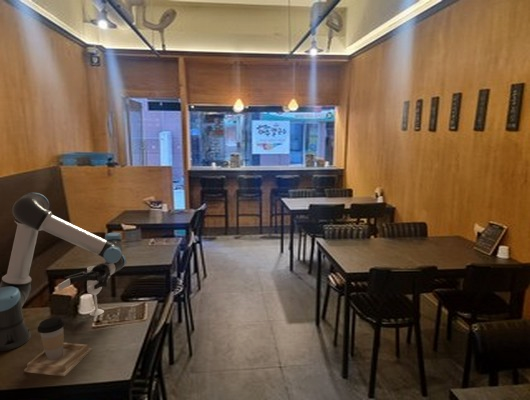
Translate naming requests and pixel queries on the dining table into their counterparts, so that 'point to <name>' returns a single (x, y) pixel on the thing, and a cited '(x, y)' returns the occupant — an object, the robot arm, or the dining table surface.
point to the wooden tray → (59, 360)
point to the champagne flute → (95, 292)
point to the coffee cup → (52, 337)
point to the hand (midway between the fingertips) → (73, 289)
